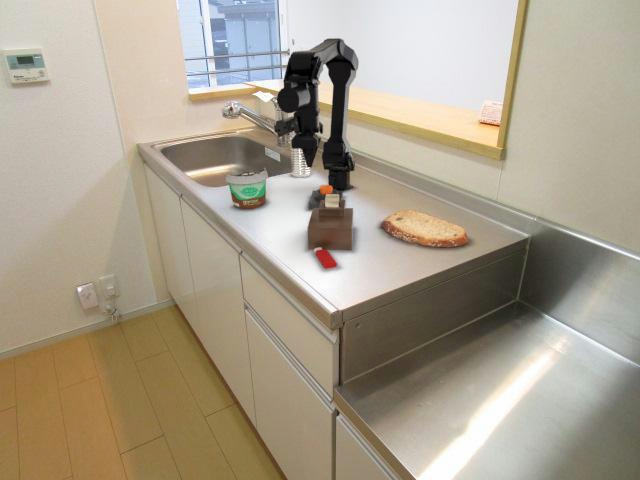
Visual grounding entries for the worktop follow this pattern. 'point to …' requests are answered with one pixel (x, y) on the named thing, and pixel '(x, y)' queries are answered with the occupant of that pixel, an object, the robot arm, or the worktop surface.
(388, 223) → the bread slice
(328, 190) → the power button
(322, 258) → the lighter
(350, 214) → the stand
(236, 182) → the food container
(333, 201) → the beige block
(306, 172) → the water bottle
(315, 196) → the power block
